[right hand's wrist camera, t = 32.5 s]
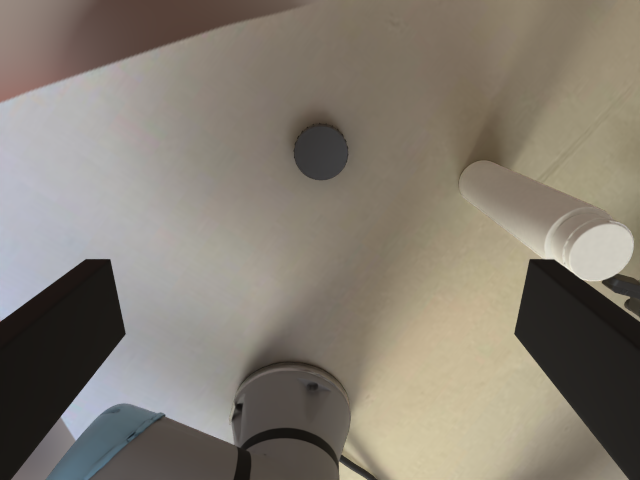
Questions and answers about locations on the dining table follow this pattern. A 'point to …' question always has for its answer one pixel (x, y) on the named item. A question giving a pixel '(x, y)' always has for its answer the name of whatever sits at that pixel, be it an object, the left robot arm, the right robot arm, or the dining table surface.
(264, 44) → the dining table surface
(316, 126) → the lid
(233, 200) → the dining table surface
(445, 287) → the dining table surface
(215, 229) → the dining table surface
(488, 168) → the bottle
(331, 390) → the right robot arm
